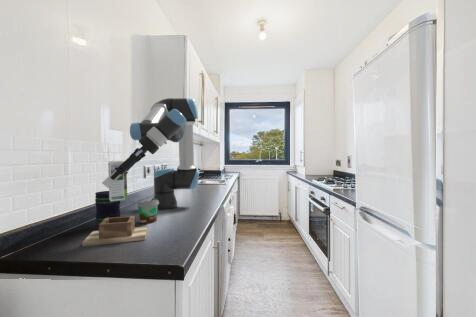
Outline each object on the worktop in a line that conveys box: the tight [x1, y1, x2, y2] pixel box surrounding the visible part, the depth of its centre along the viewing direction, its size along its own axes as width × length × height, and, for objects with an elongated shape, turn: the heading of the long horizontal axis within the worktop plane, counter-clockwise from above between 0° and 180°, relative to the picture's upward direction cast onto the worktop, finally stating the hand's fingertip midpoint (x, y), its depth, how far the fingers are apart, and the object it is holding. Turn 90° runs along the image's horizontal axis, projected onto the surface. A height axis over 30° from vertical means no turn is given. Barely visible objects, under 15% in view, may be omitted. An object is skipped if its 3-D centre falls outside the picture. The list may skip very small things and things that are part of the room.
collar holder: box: [81, 215, 148, 247], centre depth 92 cm, size 13×20×6 cm, turn 107°
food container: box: [137, 197, 159, 225], centre depth 114 cm, size 12×6×10 cm, turn 168°
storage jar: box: [94, 190, 122, 230], centre depth 108 cm, size 10×10×15 cm
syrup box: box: [107, 160, 128, 202], centre depth 91 cm, size 6×6×14 cm
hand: (107, 184), depth 90 cm, fingers closed on syrup box, 7 cm apart
